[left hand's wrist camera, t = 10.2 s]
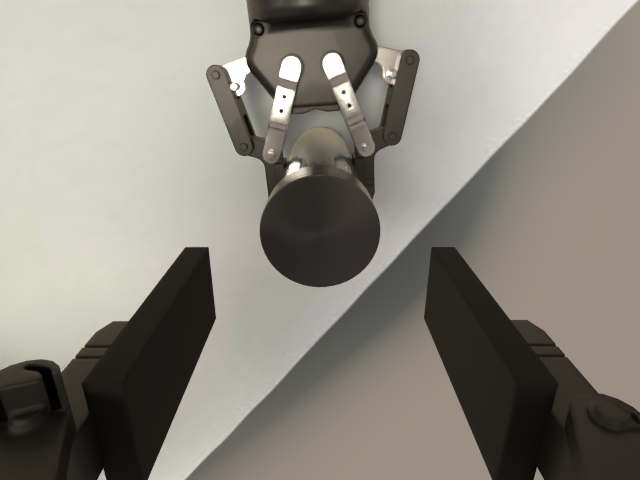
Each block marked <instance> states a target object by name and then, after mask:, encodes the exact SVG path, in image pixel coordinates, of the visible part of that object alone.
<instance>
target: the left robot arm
mask: <svg viewBox="0 0 640 480" xmlns="http://www.w3.org/2000/svg"><path fill="white" fill-rule="evenodd" d="M215 319H216V314H215V305H214V296H213V286H212V277H211V267H210V258H209V249H208V247H185V249H184V250H183V251H182V253H181V254H180V255H179V256H178V258H177V259H176V260H175V262H174V263H173V264H172V266H171V267H170V268H169V270H168V271H167V272H166V273H165V275H164V276H163V277H162V279H161V280H160V281H159V283H158V284H157V285H156V287H155V288H154V289H153V290H152V292H151V293H150V294H149V296H148V297H147V298H146V300H145V301H144V302H143V303H142V305H141V306H140V307H139V309H138V310H137V311H136V313H135V314H134V315H133V317H132V318H131V319H130V320H129V321H113V322H112V323H110V324H108V325H107V326H105V327H104V328H102V329H101V330H99V331H98V332H96V333H95V334H94V335H93V337H92V338H91V339H90V340H89V341H88V342H87V344H86V345H85V348H82V349H81V350H80V352H79V353H78V354H77V355H76V358H75V359H73V360H72V361H71V362H70V363H69V364H68V366H67V367H66V368H65V369H64V370H63V371H62V373H61V371H60V367H59V366H58V365H57V364H56V363H54V362H53V361H48V360H42V359H40V360H31V361H25V362H21V363H18V364H15V365H11V366H9V367H7V368H5V369H3V370H0V480H97V479H98V477H99V475H100V473H101V471H102V469H103V468H104V472H105V476H106V480H148V478H149V475H150V473H151V471H152V468H153V466H154V463H155V461H156V459H157V456H158V454H159V452H160V449H161V447H162V445H163V442H164V440H165V437H166V435H167V433H168V430H169V428H170V426H171V423H172V421H173V419H174V416H175V414H176V411H177V409H178V407H179V404H180V402H181V400H182V397H183V395H184V392H185V390H186V388H187V385H188V383H189V381H190V378H191V376H192V374H193V371H194V369H195V366H196V364H197V362H198V359H199V357H200V355H201V352H202V350H203V347H204V345H205V343H206V340H207V338H208V336H209V333H210V331H211V329H212V326H213V324H214V321H215ZM424 319H425V321H426V324H427V326H428V329H429V331H430V333H431V336H432V338H433V340H434V343H435V345H436V348H437V350H438V352H439V355H440V357H441V359H442V362H443V364H444V366H445V369H446V371H447V374H448V376H449V378H450V381H451V383H452V385H453V388H454V390H455V392H456V395H457V397H458V400H459V402H460V404H461V407H462V409H463V411H464V414H465V416H466V419H467V421H468V423H469V426H470V428H471V430H472V433H473V435H474V437H475V440H476V442H477V445H478V447H479V449H480V452H481V454H482V456H483V459H484V461H485V463H486V466H487V468H488V471H489V473H490V475H491V478H492V480H533V479H534V476H535V472H536V468H537V467H538V469H539V471H540V473H541V474H542V476H543V478H544V480H640V412H638V411H637V410H636V409H635V408H633V407H632V406H630V405H628V404H626V403H624V402H623V401H621V400H619V399H616V398H613V397H610V396H607V395H604V394H598V393H597V391H596V390H595V389H594V388H593V387H592V386H591V384H590V383H589V382H588V381H587V380H586V379H585V378H584V376H583V375H582V374H581V373H580V372H579V371H578V369H577V368H576V367H575V366H574V365H573V364H572V363H571V361H570V360H569V359H568V358H567V357H565V355H564V353H563V352H562V351H561V350H560V349H559V347H556V345H555V343H554V342H553V341H552V339H551V338H550V337H549V336H548V335H547V334H546V332H545V331H543V330H542V329H540V328H539V327H537V326H536V325H534V324H532V323H531V322H529V321H528V320H510V319H509V318H508V317H507V315H506V314H505V313H504V311H503V310H502V309H501V307H500V306H499V305H498V303H497V302H496V301H495V300H494V298H493V297H492V296H491V294H490V293H489V292H488V290H487V289H486V288H485V287H484V285H483V284H482V283H481V281H480V280H479V279H478V277H477V276H476V275H475V273H474V272H473V271H472V270H471V268H470V267H469V266H468V264H467V263H466V262H465V260H464V259H463V258H462V257H461V255H460V254H459V253H458V251H457V250H456V249H455V248H454V247H432V249H431V258H430V267H429V277H428V286H427V296H426V305H425V314H424Z"/></svg>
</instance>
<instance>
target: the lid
mask: <svg viewBox="0 0 640 480" xmlns="http://www.w3.org/2000/svg"><path fill="white" fill-rule="evenodd" d="M379 238H380V223H379V218H378V214H377V211H376V209H375V206H374V204H373V201H372V199H371V197H370V194H369V193H368V191H367V189H366V188H365V187H364V185H363V184H362V183H361V182H360V181H359V180H358V179H357V178H356V177H354V176H353V175H351V174H350V173H348V172H346V171H344V170H342V169H339V168H337V167H332V166H327V165H313V166H307V167H304V168H300V169H298V170H296V171H293V172H292V173H290V174H289V175H287V176H286V177H284V178H283V179H282V180H281V181H280V182H279V183H278V184H277V185H276V187H275V188H274V189H273V191H272V193H271V195H270V197H269V199H268V201H267V204H266V206H265V209H264V211H263V214H262V217H261V223H260V239H261V244H262V247H263V250H264V252H265V254H266V256H267V258H268V260H269V261H270V263H271V264H272V265H273V266H274V267H275V268H276V269H277V271H279V272H280V273H281V274H282V275H284V276H285V277H287V278H288V279H290V280H292V281H294V282H296V283H299V284H302V285H306V286H312V287H328V286H334V285H338V284H341V283H343V282H346V281H348V280H350V279H352V278H353V277H355V276H356V275H358V274H359V273H360V272H361V271H362V270H363V269H365V267H366V266H367V265H368V264H369V263H370V261H371V260H372V258H373V256H374V254H375V252H376V250H377V247H378V244H379Z"/></svg>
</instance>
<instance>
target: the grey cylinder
mask: <svg viewBox="0 0 640 480" xmlns="http://www.w3.org/2000/svg"><path fill="white" fill-rule="evenodd" d="M313 165H327V166H332V167H337V168H339V169H342V170H344V171H346V172H348V173H350V174H351V175H353V176H354V177H356V178H357V179H358V180H359V178H358V175H357V173H356V170H355V167H354V164H353V162H352V159H351V156H350V153H349V150H348V148H347V145H346V143H345V141H344V139H343V138H342V137H341V136H340V135H339V134H338V133H337V132H335V131H334V130H332V129H329V128H325V127H315V128H311V129H308V130H306V131H305V132H303V133H302V134H301V135H300V136H299V137H298V138H297V140H296V141H295V143H294V145H293V148H292V151H291V154H290V156H289V159H288V162H287V165H286V167H285V170H284V173H283V176H282V178H281V180H282V179H283V178H284V177H286V176H287V175H289V174H290V173H292V172H293V171H296V170H298V169H300V168H304V167H307V166H313Z"/></svg>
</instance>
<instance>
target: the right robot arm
mask: <svg viewBox="0 0 640 480" xmlns="http://www.w3.org/2000/svg"><path fill="white" fill-rule="evenodd" d="M247 7H248V16H249V24H250V42H249V46H248V49H247V51H246V57H245V58H242V59H239V60H236V61H234V62H231V63H228V64H225V65H212V66H210V67H209V68H208V70H207V73H206V76H207V79H208V82H209V84H210V87H211V89H212V92H213V94H214V97H215V99H216V102H217V104H218V107H219V109H220V112H221V114H222V117H223V119H224V122H225V124H226V127H227V129H228V132H229V134H230V137H231V140H232V142H233V145H234V147H235V150H236V152H237V153H238V154H240V155H242V156H247V155H248V156H251V157H255V158H258V159H260V160H261V161H262V162H263V163H264V166H265V171H266V179H267V187H268V196H269V197H270V195H271V193H272V191H273V189H274V188H275V187H276V185H277V184H278V183H279V182H280V181H281V178H282V176H283V173H284V170H285V167H286V165H287V160H286V158H283V148H284V144H285V140H286V136H287V132H288V128H289V124H290V121H291V117H292V114H301V113H306V112H309V111H311V110H314V109H318V110H323V111H339V109H340V110H341V113H342V115H343V117H344V120H345V122H346V125H347V127H348V129H349V132H350V134H351V137H352V139H353V141H354V148H355V153H352V162H353V164H354V167H355V170H356V173H357V175H358V178H359V181H360V182H361V183H362V184H363V185H364V187H365V188H366V189H367V191H368V193H369V194H370V197H371V199H372V198H373V196H374V193H375V188H374V156H375V154H376V152H377V151H378V150H380V149H382V148H384V147H386V146H389V145H396V144H397V143H399V141H400V140H401V136H402V132H403V128H404V124H405V120H406V115H407V111H408V107H409V103H410V98H411V94H412V90H413V86H414V81H415V77H416V73H417V69H418V64H419V55H418V53H417V52H416V51H414V50H404V51H400V50H394V49H389V48H384V47H378V46H377V42H376V40H375V38H374V37H373V35H372V32H371V30H370V26H369V9H368V0H247ZM374 62H375V63H377V64H378V65H379V66H380V68H381V78H382V80H383V81H384V82H385V83H388V84H389V86H388V91H387V95H386V100H385V105H384V109H383V114H382V119H381V123H380V127H378V128H375V129H373V130H371V131H369V129H368V126H367V124H366V121H365V118H364V115H363V113H362V110H361V108H360V105H359V103H358V100H357V98H356V95H355V93H356V91H357V90H358V88H359V87H360V85H361V83H362V82H363V80H364V78H365V77H366V75H367V74H368V72H369V70H370V69H371V67H372V65H373V64H374ZM249 73H252V74H253V75H254V76H255V78H256V79H257V80H258V81H259V82H260V83H261V85H262V86H263V87H264V88H265V89H266V91H267V92H268V93H269V94H270V95H271V97H272V98H273V99H274V102H273V107H272V111H271V115H270V120H269V125H268V131H267V136H266V139H265V138H261V137H258V136H256V135H255V132H254V129H253V127H252V124H251V121H250V119H249V116H248V113H247V111H246V108H245V105H244V103H243V100H242V97H241V95H243V94H244V93H245V92H246V90H247V83H246V78H247V76H248V74H249Z"/></svg>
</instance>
